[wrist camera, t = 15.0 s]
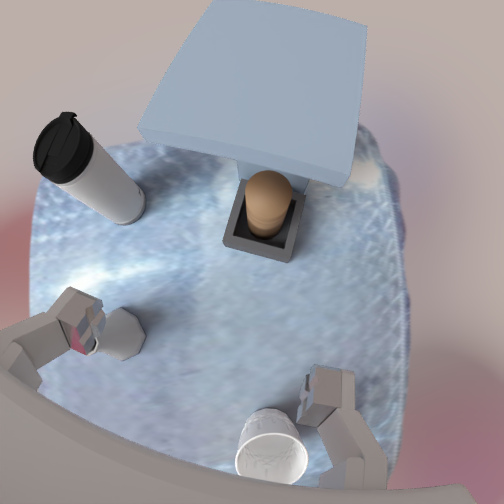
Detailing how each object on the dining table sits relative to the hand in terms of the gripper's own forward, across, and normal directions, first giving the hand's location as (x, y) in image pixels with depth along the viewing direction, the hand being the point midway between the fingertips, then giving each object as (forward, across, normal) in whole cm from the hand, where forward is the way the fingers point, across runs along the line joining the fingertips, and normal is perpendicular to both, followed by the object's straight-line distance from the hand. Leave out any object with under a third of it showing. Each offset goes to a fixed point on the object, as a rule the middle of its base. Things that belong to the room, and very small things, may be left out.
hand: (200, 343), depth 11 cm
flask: (+16, +15, +26) cm, 34 cm away
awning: (+31, +1, +11) cm, 32 cm away
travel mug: (+28, +20, +14) cm, 37 cm away
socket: (+30, 0, +12) cm, 32 cm away
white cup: (+11, -8, +31) cm, 34 cm away
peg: (+29, 0, +12) cm, 31 cm away
